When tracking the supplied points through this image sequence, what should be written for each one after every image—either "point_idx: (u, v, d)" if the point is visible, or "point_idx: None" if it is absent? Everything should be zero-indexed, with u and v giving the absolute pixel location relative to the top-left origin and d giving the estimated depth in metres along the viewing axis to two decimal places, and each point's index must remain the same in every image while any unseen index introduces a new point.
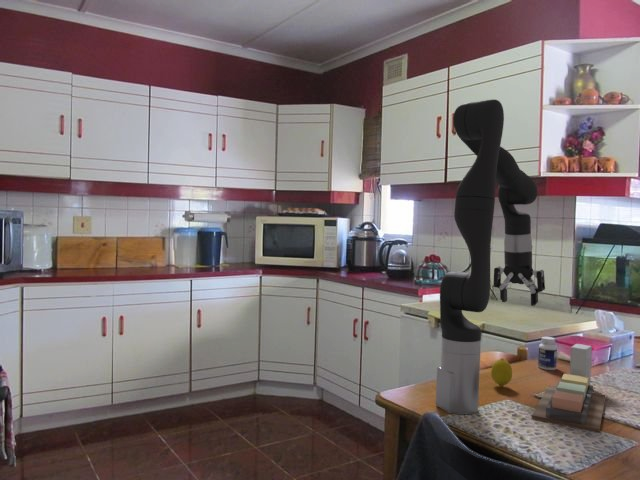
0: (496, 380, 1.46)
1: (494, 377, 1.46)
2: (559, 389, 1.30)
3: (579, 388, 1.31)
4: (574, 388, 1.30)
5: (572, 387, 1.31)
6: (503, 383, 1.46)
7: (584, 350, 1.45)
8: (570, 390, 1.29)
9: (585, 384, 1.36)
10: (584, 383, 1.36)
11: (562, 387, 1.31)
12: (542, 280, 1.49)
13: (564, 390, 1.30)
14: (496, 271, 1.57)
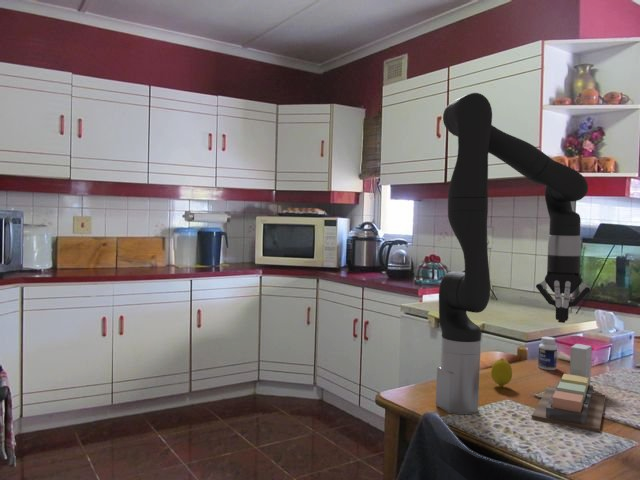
0: (496, 380, 1.46)
1: (494, 377, 1.46)
2: (559, 389, 1.30)
3: (579, 388, 1.31)
4: (574, 388, 1.30)
5: (572, 387, 1.31)
6: (503, 383, 1.46)
7: (584, 350, 1.45)
8: (570, 390, 1.29)
9: (585, 384, 1.36)
10: (584, 383, 1.36)
11: (562, 387, 1.31)
12: (583, 297, 1.30)
13: (564, 390, 1.30)
14: (540, 287, 1.34)
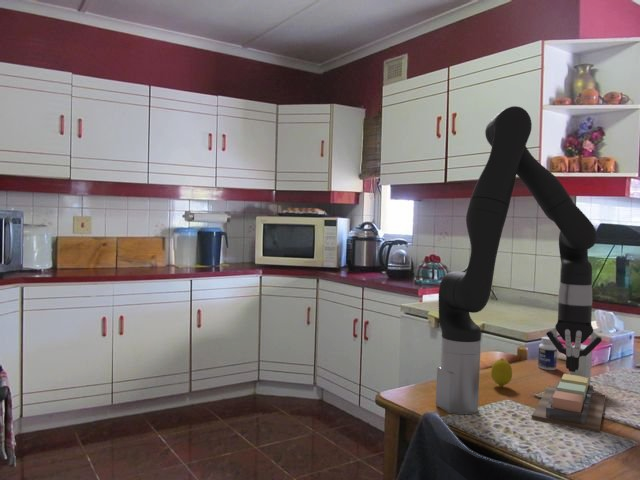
0: (496, 380, 1.46)
1: (494, 377, 1.46)
2: (559, 389, 1.30)
3: (579, 388, 1.31)
4: (574, 388, 1.30)
5: (572, 387, 1.31)
6: (503, 383, 1.46)
7: None
8: (570, 390, 1.29)
9: (585, 384, 1.36)
10: (584, 383, 1.36)
11: (562, 387, 1.31)
12: (594, 347, 1.29)
13: (564, 390, 1.30)
14: (550, 335, 1.33)
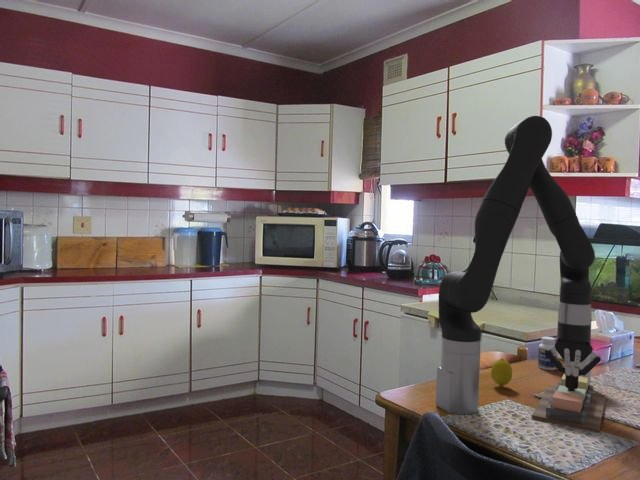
0: (496, 380, 1.46)
1: (494, 377, 1.46)
2: None
3: (578, 392, 1.31)
4: (574, 392, 1.30)
5: (572, 391, 1.31)
6: (503, 383, 1.46)
7: None
8: None
9: (585, 384, 1.36)
10: (584, 383, 1.36)
11: (562, 391, 1.31)
12: (593, 366, 1.29)
13: None
14: (550, 354, 1.33)
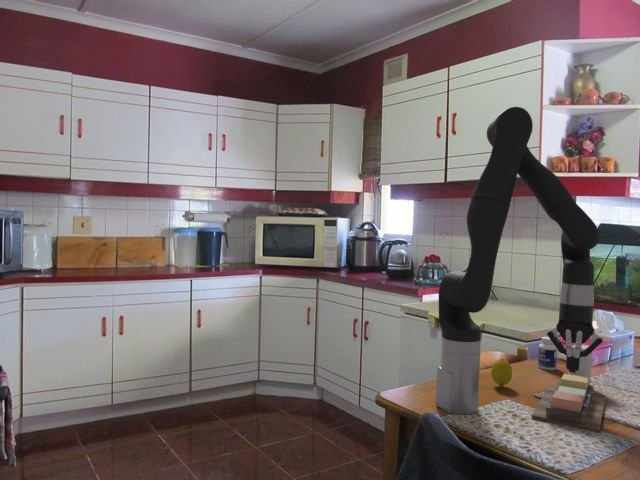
0: (496, 380, 1.46)
1: (494, 377, 1.46)
2: None
3: (578, 392, 1.31)
4: (574, 392, 1.30)
5: (572, 391, 1.31)
6: (503, 383, 1.46)
7: None
8: None
9: (585, 384, 1.36)
10: (584, 383, 1.36)
11: (562, 391, 1.31)
12: None
13: None
14: (551, 335, 1.33)
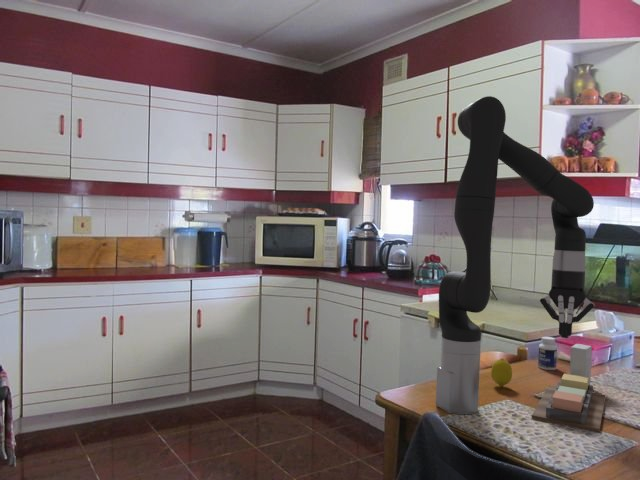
0: (496, 380, 1.46)
1: (494, 377, 1.46)
2: None
3: (578, 392, 1.31)
4: (574, 392, 1.30)
5: (572, 391, 1.31)
6: (503, 383, 1.46)
7: (584, 350, 1.45)
8: None
9: (585, 384, 1.36)
10: (584, 383, 1.36)
11: (562, 391, 1.31)
12: (586, 313, 1.30)
13: None
14: (544, 302, 1.35)
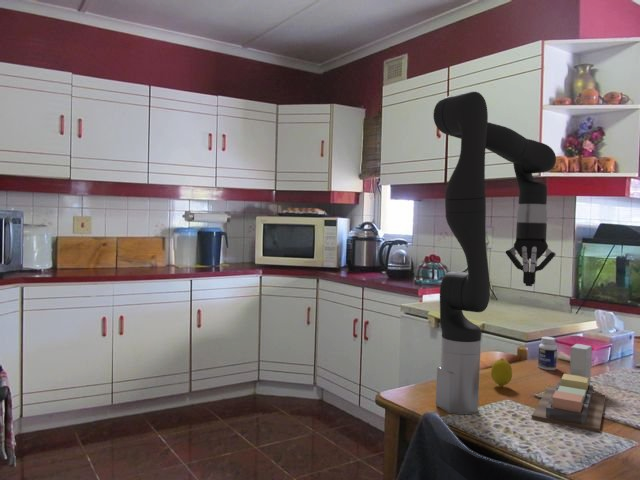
0: (496, 380, 1.46)
1: (494, 377, 1.46)
2: None
3: (578, 392, 1.31)
4: (574, 392, 1.30)
5: (572, 391, 1.31)
6: (503, 383, 1.46)
7: (584, 350, 1.45)
8: None
9: (585, 384, 1.36)
10: (584, 383, 1.36)
11: (562, 391, 1.31)
12: (548, 262, 1.39)
13: None
14: (509, 253, 1.44)
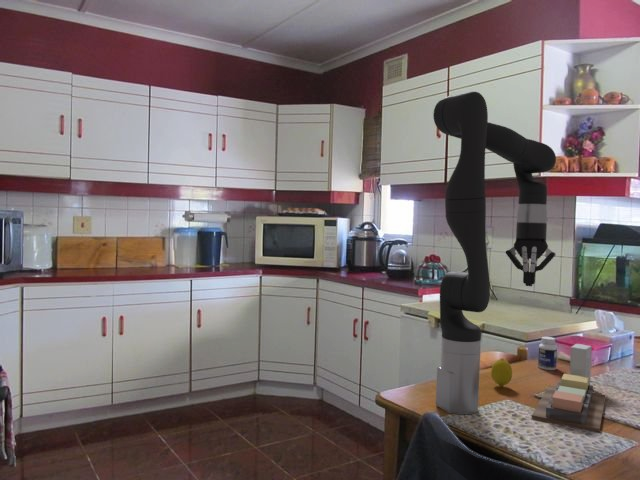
0: (496, 380, 1.46)
1: (494, 377, 1.46)
2: None
3: (578, 392, 1.31)
4: (574, 392, 1.30)
5: (572, 391, 1.31)
6: (503, 383, 1.46)
7: (584, 350, 1.45)
8: None
9: (585, 384, 1.36)
10: (584, 383, 1.36)
11: (562, 391, 1.31)
12: (548, 262, 1.39)
13: None
14: (509, 253, 1.44)
